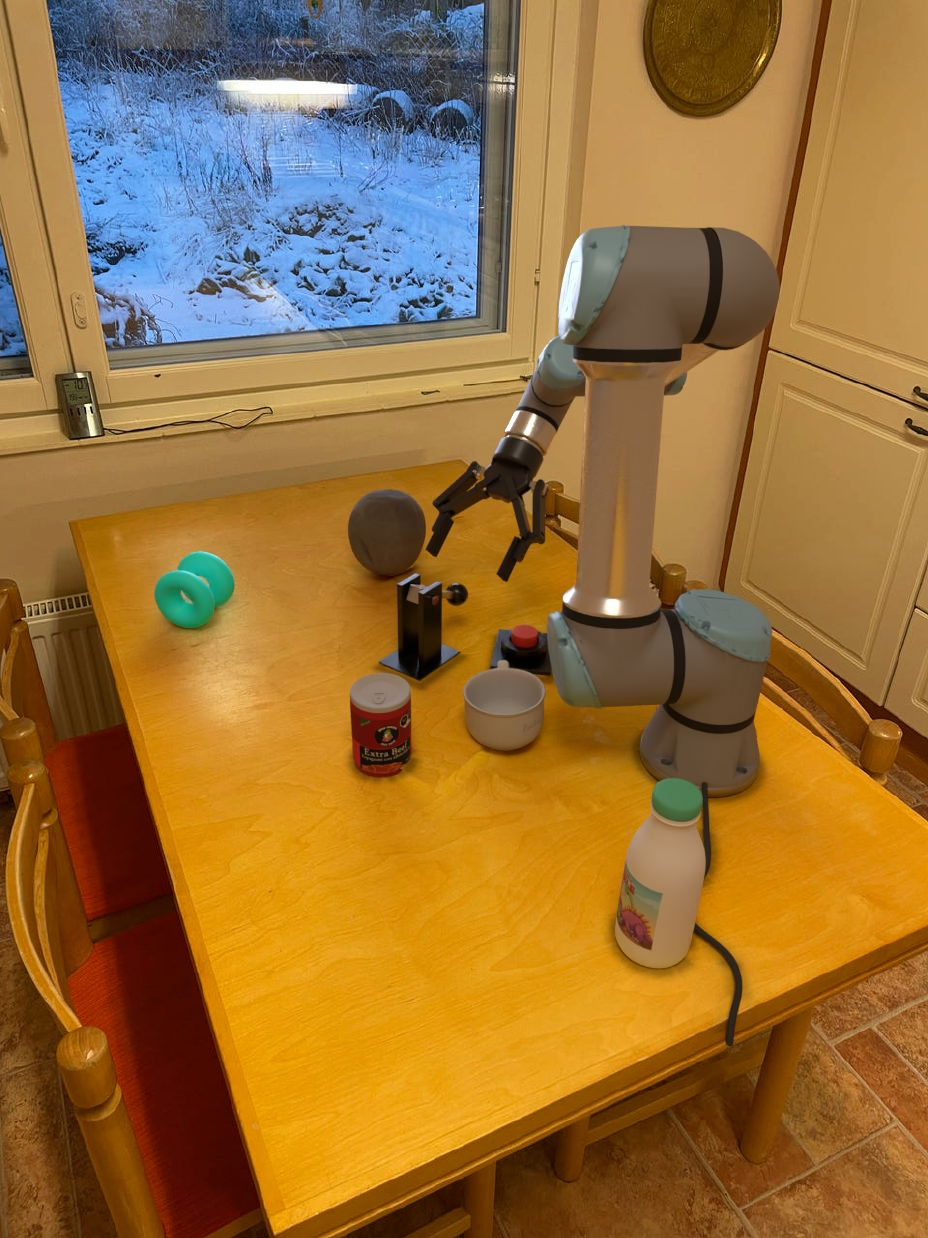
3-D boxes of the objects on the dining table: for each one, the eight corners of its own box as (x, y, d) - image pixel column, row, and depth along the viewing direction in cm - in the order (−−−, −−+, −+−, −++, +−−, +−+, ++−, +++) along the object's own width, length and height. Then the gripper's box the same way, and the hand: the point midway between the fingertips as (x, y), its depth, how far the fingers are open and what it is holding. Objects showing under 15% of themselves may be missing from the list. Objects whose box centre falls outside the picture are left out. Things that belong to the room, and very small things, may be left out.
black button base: (549, 681, 135) (551, 661, 133) (490, 675, 136) (490, 655, 134) (554, 643, 144) (555, 624, 142) (498, 637, 145) (499, 619, 143)
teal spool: (155, 626, 146) (146, 571, 141) (186, 597, 154) (178, 545, 149) (212, 635, 144) (205, 580, 139) (240, 605, 152) (234, 552, 147)
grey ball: (438, 580, 162) (438, 503, 154) (361, 593, 157) (358, 514, 149) (412, 548, 173) (411, 474, 165) (340, 559, 168) (336, 483, 161)
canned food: (358, 783, 114) (355, 712, 108) (348, 745, 121) (344, 676, 115) (417, 773, 116) (417, 703, 110) (404, 736, 122) (403, 668, 117)
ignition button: (536, 649, 136) (537, 639, 135) (509, 647, 137) (510, 636, 136) (538, 636, 140) (539, 625, 139) (512, 633, 140) (513, 623, 139)
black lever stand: (420, 641, 144) (419, 563, 137) (460, 657, 140) (462, 578, 133) (378, 668, 137) (376, 587, 130) (419, 686, 133) (419, 604, 126)
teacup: (536, 767, 117) (540, 717, 113) (454, 755, 119) (455, 706, 115) (549, 706, 129) (553, 659, 125) (474, 696, 131) (476, 649, 127)
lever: (450, 601, 143) (456, 580, 143) (469, 608, 142) (475, 586, 141) (401, 602, 132) (407, 578, 132) (420, 609, 130) (426, 586, 130)
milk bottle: (679, 910, 97) (708, 765, 87) (697, 970, 91) (731, 820, 81) (608, 911, 97) (629, 765, 87) (621, 972, 90) (645, 821, 80)
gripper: (599, 476, 140) (541, 598, 137) (469, 442, 153) (413, 552, 150) (585, 452, 134) (524, 579, 131) (450, 419, 146) (392, 534, 143)
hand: (465, 565), depth 140 cm, fingers open, 13 cm apart
